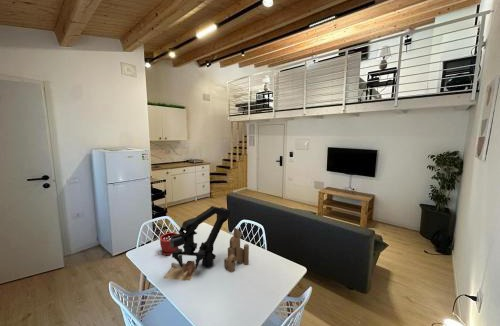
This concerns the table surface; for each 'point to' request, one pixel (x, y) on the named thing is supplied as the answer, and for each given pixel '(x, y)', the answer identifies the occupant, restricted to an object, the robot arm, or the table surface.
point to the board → (178, 272)
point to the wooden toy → (236, 252)
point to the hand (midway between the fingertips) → (189, 267)
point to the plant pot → (167, 244)
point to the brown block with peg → (188, 269)
